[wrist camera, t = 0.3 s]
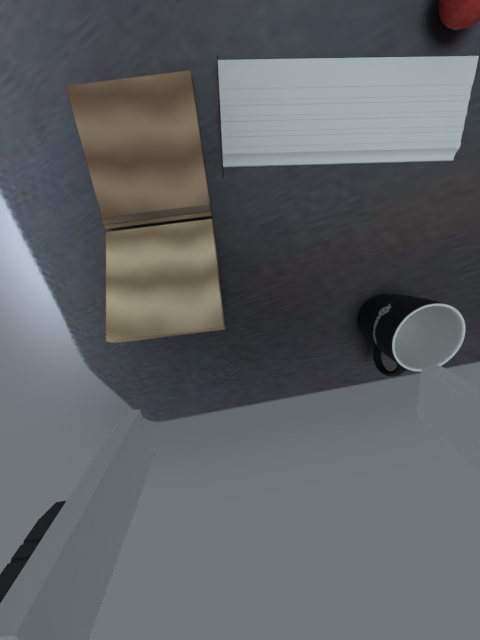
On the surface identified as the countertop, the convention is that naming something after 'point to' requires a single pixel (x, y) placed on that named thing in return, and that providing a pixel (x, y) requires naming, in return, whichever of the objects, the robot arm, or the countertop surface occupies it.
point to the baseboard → (343, 110)
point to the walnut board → (143, 149)
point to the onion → (459, 13)
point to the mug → (412, 331)
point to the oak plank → (162, 282)
